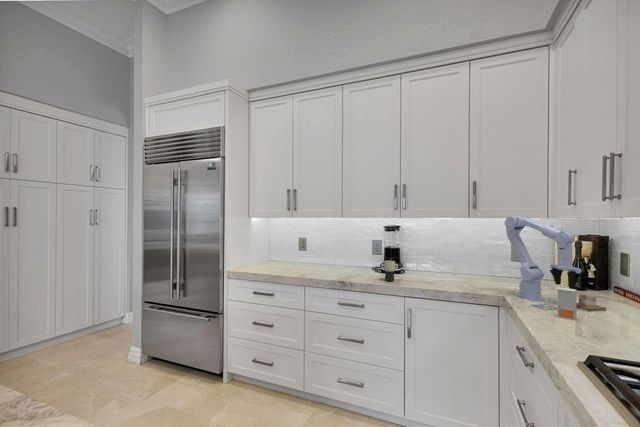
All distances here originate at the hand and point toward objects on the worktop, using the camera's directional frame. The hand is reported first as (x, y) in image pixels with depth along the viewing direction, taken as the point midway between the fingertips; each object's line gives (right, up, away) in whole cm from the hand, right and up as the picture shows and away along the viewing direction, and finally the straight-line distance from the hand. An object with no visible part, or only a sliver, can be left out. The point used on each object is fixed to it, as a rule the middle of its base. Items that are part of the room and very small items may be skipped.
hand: (565, 286), depth 159 cm
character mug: (-70, -10, +62) cm, 95 cm away
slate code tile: (-11, -9, -3) cm, 15 cm away
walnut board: (+7, -9, -5) cm, 13 cm away
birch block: (+7, -8, -5) cm, 11 cm away
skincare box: (-13, -9, -19) cm, 25 cm away
